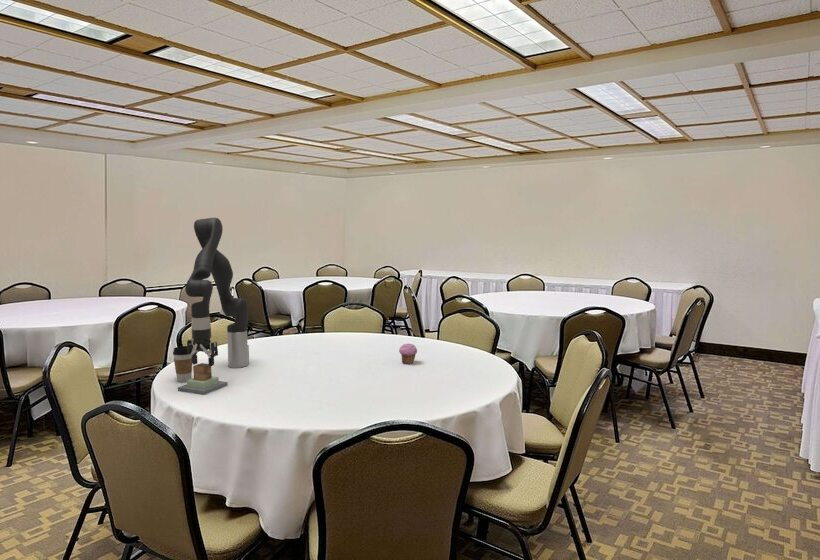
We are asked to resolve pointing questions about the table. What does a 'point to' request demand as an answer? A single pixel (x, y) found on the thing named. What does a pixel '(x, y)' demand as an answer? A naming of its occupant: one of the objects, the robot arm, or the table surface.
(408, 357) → the cupcake
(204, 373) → the walnut block
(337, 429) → the table surface
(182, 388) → the stack base
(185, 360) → the coffee cup
